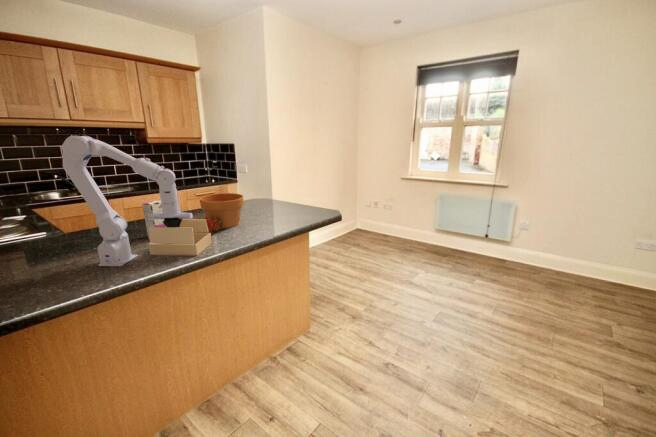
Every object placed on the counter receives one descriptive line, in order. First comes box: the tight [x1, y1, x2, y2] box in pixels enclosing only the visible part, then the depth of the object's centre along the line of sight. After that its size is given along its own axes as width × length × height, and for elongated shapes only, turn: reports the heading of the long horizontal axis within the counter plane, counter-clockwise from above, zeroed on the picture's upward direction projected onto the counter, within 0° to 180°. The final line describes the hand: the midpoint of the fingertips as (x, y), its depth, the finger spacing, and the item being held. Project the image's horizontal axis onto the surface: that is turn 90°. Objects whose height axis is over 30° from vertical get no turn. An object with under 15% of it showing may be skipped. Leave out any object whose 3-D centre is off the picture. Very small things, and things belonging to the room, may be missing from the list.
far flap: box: [180, 218, 210, 233], centre depth 120 cm, size 6×16×1 cm
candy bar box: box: [141, 198, 166, 241], centre depth 129 cm, size 11×5×16 cm, turn 168°
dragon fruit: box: [201, 216, 222, 234], centre depth 136 cm, size 8×8×12 cm
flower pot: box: [199, 192, 244, 230], centre depth 147 cm, size 21×21×15 cm
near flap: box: [149, 227, 194, 244], centre depth 108 cm, size 6×16×1 cm
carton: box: [148, 232, 212, 257], centre depth 116 cm, size 14×18×4 cm
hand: (175, 236), depth 110 cm, fingers closed, pressing on near flap
